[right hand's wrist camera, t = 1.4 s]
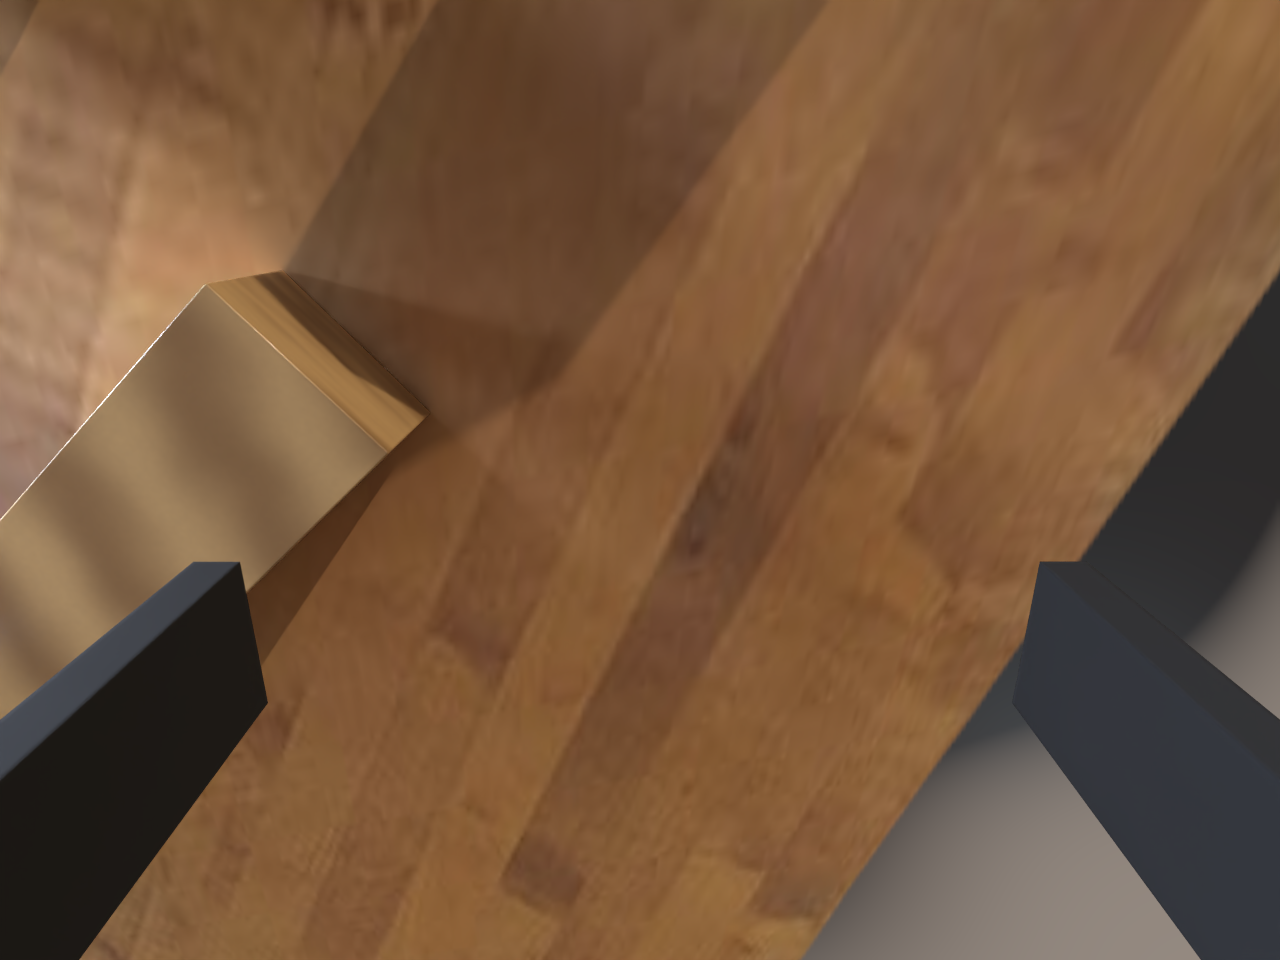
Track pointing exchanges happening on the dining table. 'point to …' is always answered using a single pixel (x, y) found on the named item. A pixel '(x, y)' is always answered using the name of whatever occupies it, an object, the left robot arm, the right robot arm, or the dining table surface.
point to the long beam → (193, 468)
